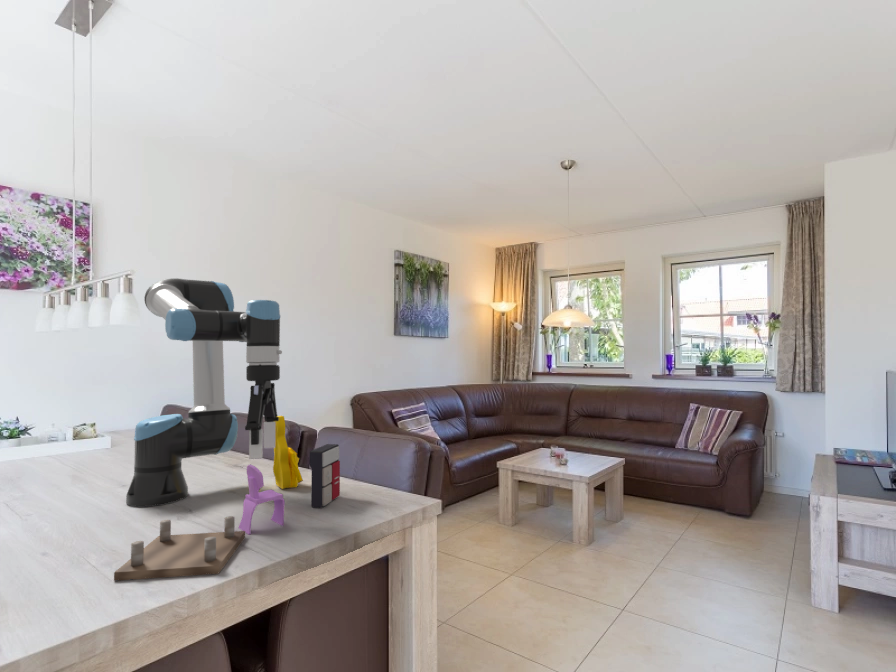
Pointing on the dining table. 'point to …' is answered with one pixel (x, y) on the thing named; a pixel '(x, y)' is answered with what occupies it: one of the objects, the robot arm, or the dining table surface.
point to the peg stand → (181, 553)
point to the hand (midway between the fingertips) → (263, 453)
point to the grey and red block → (325, 475)
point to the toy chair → (259, 500)
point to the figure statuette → (284, 459)
